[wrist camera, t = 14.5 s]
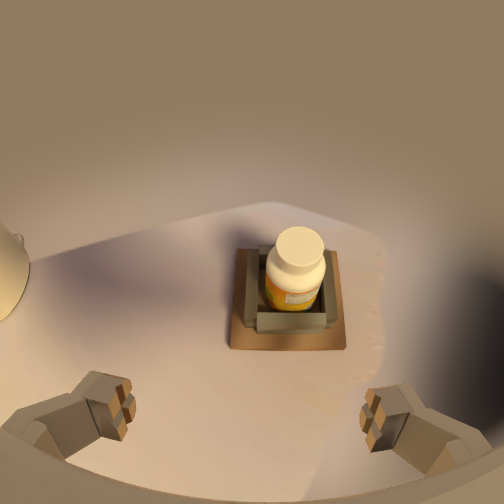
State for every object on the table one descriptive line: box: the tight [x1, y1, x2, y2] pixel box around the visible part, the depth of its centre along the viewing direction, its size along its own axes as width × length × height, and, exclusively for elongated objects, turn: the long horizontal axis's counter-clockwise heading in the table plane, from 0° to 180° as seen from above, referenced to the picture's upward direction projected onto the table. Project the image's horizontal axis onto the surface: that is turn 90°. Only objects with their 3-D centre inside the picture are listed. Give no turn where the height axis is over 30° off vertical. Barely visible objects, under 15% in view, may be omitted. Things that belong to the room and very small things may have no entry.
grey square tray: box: [230, 245, 346, 351], centre depth 31 cm, size 12×12×4 cm
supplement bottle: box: [265, 226, 326, 313], centre depth 28 cm, size 5×5×10 cm
